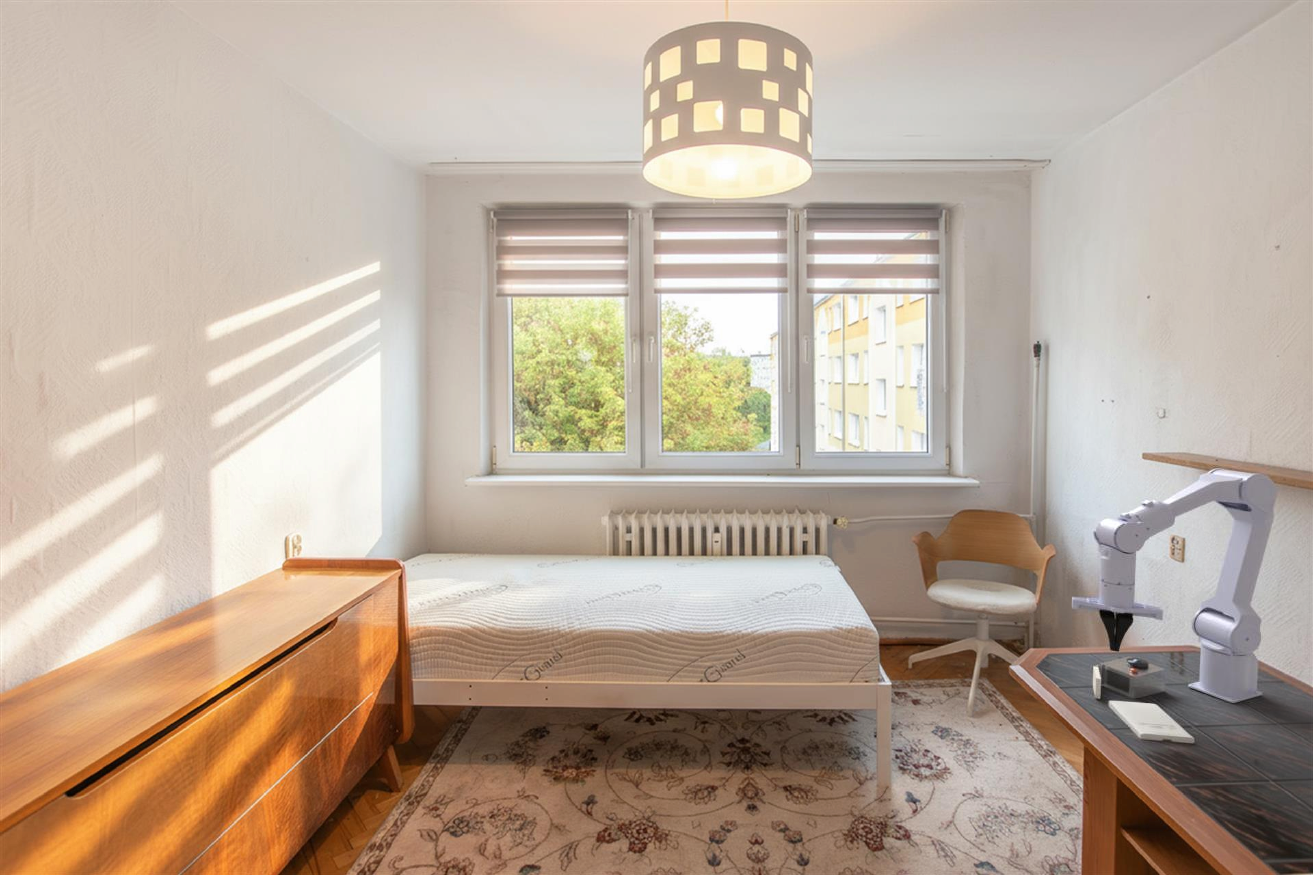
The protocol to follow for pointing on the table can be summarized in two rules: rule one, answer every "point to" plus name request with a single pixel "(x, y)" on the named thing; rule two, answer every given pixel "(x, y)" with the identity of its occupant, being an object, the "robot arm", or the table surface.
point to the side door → (1097, 681)
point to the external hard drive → (1150, 722)
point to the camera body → (1132, 677)
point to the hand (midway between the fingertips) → (1114, 649)
